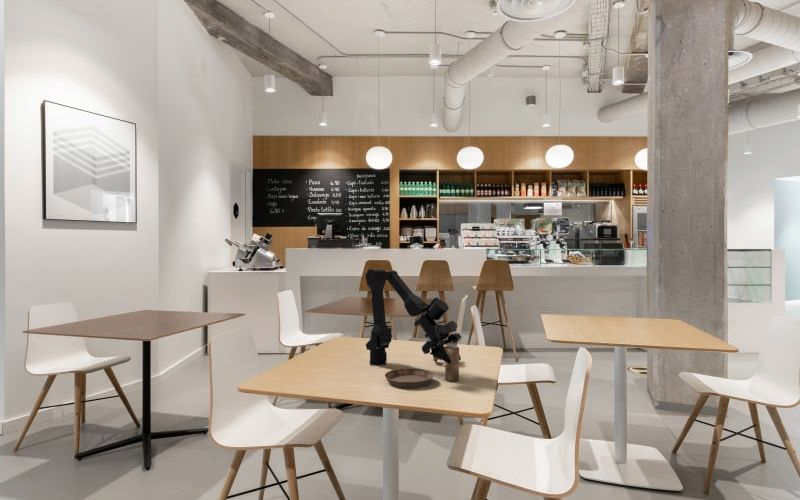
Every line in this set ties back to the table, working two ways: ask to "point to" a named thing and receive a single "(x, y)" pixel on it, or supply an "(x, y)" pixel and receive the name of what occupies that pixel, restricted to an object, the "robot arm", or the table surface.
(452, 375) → the pepper mill
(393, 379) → the plant saucer
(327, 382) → the table surface
